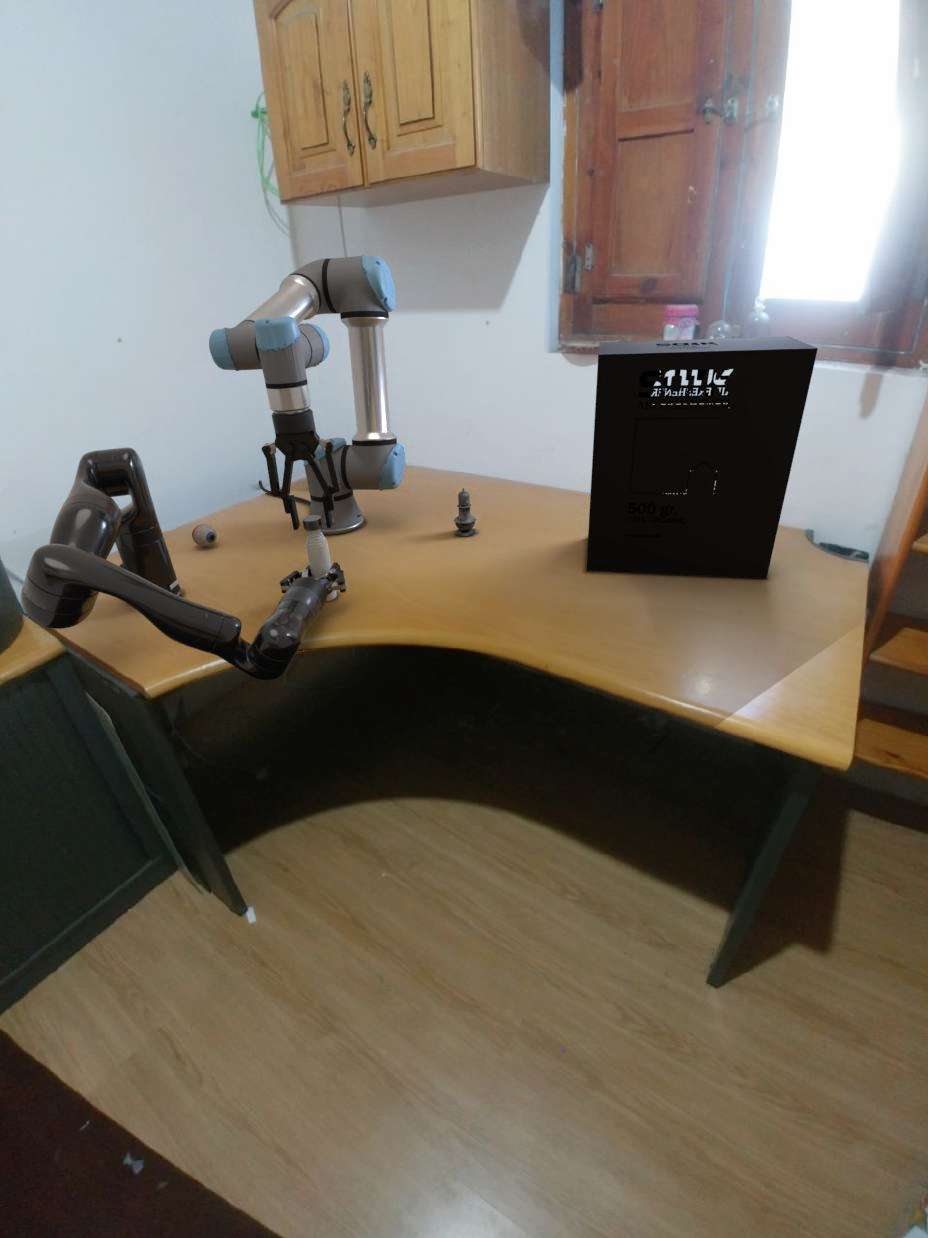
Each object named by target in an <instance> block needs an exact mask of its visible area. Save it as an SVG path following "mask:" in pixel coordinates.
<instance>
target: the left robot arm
mask: <svg viewBox="0 0 928 1238" xmlns="http://www.w3.org/2000/svg"><path fill="white" fill-rule="evenodd" d="M146 475H147V474H146V471H145V469H144V464H143V462H142V460H141V457H140V456H139V453H138V452H137V451H136V450H135V448H132V447H127V446H126V447H115V448H105V449H97V450H92V451H88V452H86V453H84V454H82V456H81V458H80V459H79V462H78V465H77V469H76V473H75V477H74V481H73V484H72V486H71V488H70V490H69V493H68V495H67V498H66V499H65V501H64V503H63V504H62V506H61V508H60V510H59V512H58V513H57V516H56V518H55V521H54V524H53V527H52V530H51V534H50V538H49V542H48V544H44V545H42V546H39V547H38V548H36V550H35V551H34V552H33V554H32V556H31V558H30V561H29V564H28V567H27V571H26V573H25V577H24V580H23V582H22V583H23V584H22V588H21V591H20V603H21V606H22V609H23V611H24V613H25V614H26V615H27V616H28V618H29V619H31V621H33V622H34V623H36V624H38V625H40V626H42V627H45V628H47V629H53V630H55V629H56V630H58V629H61V630H63V629H67V628H68V629H69V628H72V627H75V626H77V625H79V624H81V623H82V622H85V620H86V619H87V618H88V617H89V616H90V615H91V613H92V612H93V610H94V608H95V605H96V602H97V599H98V596H99V594H100V593H102V594H105V595H108V596H111V597H113V598H116V599H118V600H120V601H122V602H123V603H126V604H128V605H129V606H131V608H133V609H135V610H136V611H137V612H139V614H141V615H142V616H143V617H144V618H145V619H147V621H148V622H150V623H151V624H152V625H153V626H154V627H155V628H156V629H157V630H158V631H159V632H160V633H161V634H163V635H164V636H165V637H167V638H168V639H169V640H172V641H174V642H175V643H177V644H180V645H181V646H185V647H186V648H187V647H188V648H191V649H194V650H197V651H200V652H204V653H207V654H209V655H214V656H217V657H219V658H221V660H223V661H225V662H226V663H228V664H230V665H231V666H233V667H235V668H236V669H238V670H240V671H242V672H243V673H245V674H246V675H248V676H250V677H252V678H254V679H258V680H262V681H272V680H273V681H274V680H276V679H278V678H280V677H281V676H282V675H283V674H284V672H285V671H286V669H287V668H288V665H289V664H290V663H291V661H292V660H293V657H294V656H295V654H296V653H297V651H298V650H299V648H300V646H301V643H302V642H303V639H304V638H305V636H306V635H307V633H308V631H309V629H310V628H311V626H312V625H313V624H314V623H315V621H316V620H317V618H318V616H319V615H320V612H321V611H322V610H323V608H324V606H325V605H326V602H327V601H326V599H327V596H328V595H329V594H331V593H332V591H333V590H336V591H339V593H341V594H343V593H346V592H347V587H346V579H345V572H344V570H343V569H341V565H340V564H339V562H338V561H336V562H333V563H332V564H331V566H332V567H331V568H330V570H329V571H328V572H323V573H322V574H321V575H319V576H316V577H312V574H311V569H310V564H308V565H307V566H306V567H305V568H304V569H302V570H301V571H299V570H294V571H292V572H291V573H290V574H288V575H287V576H285V577H283V579H281V580H280V581H279V585H280V591H281V594H283V595H282V596H281V598H280V599H279V601H278V604H277V606H276V608H275V609H274V610H273V612H272V613H271V615H270V616H269V617H268V618H267V619H266V620H265V621H264V622H263V623H262V625H261V626H260V628H259V629H258V631H257V633H256V635H255V636H254V638H253V640H252V642H251V643H250V642H249V641H247V640H245V639H244V638H243V637H242V636H241V633H242V628H243V626H242V621H241V619H240V618H238V617H237V616H235V615H232V614H230V613H227V612H224V611H221V610H217V609H215V608H212V607H209V606H207V605H203V604H200V603H197V602H195V601H193V600H189V599H186V598H185V597H183V596H182V595H183V592H182V591H183V590H182V588H181V587H180V582H181V581H180V577H178V578H177V574H176V571H175V567H174V565H173V561H172V559H171V555H170V552H169V549H168V546H167V543H166V540H165V537H164V533H163V531H162V528H161V525H160V521H159V519H158V515H157V512H156V508H155V505H154V501H153V499H152V495H151V491H150V487H149V484H148V480H147V476H146ZM123 496H130V498H131V502H129V503H127V505H125V506H124V507H121V508H120V507H119V504H118V503H117V502H116V501H115V500H114V499H113V498H115V497H123ZM114 545H115V546H116V548H117V551H118V554H119V557H120V560H121V563H120V564H119V565H117V564H116V563H113V562H111V561H110V560H107V559H108V557H109V555H110V553H111V551H112V549H113V547H114ZM333 583H334V584H333Z"/></svg>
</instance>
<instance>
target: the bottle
mask: <svg viewBox="0 0 928 1238" xmlns="http://www.w3.org/2000/svg"><path fill="white" fill-rule="evenodd" d="M325 536H326V535H324V534H322V532H321V530H320V529H319V530H314V531H307V535H306V541H305V548H306V553H307V558H308V563H309V564H308V565H310V569H311V574H312V577H316V576H319V575H321V574H322V573H323V572H328V571H329V570H330V568H331V567H332V561H331V555H330V554H331V553H330V549H329V544H328V543H329V542H328V540H327V538H326V537H325ZM333 584H334V583H333ZM337 596H338V593H337V590H333V591H332V593H331V594H329V595H328V596H327V599H326V602H330V601H332V600H334V599H336V598H337Z"/></svg>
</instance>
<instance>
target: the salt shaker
mask: <svg viewBox="0 0 928 1238" xmlns="http://www.w3.org/2000/svg"><path fill="white" fill-rule="evenodd" d="M461 490H462V491H460V492H458V494H457V500H458V504H457V505H456V507H457V508H458V516H456V517H454V519H453V522H454V524H455V526H456V528H458V529H457V530H456V531H455V534H456V535H457V536H460V537H469V536H473V535H475V534H476V529H474V527H475V524H476V521H477V517H475V516H473V515H472V513H471V507H472V504H471V502H470V501H471V500H470V493H469V492H468V491H466V490H465V488H464V487H463V488H462V489H461Z"/></svg>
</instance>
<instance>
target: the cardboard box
mask: <svg viewBox="0 0 928 1238" xmlns="http://www.w3.org/2000/svg"><path fill="white" fill-rule="evenodd" d="M818 349H819V348H818V347H817V346H816V347H815V346H813V345H811V344H808V343H806V342H804V341H801V340H799V339H798V338H797V339H796V338H794V337H792V336H788V335H785V336H783V335H782V336H757V337H756V336H755V337H753V336H752V337H727V338H726V337H725V338H724V337H723V338H695V339H694V338H693V339H667V340H663V339H662V340H638V341H637V340H635V341H634V340H633V341H610V342H609V341H605V342H604V341H603V342H599V347H598V353H597V372H596V374H597V375H596V390H595V404H594V407H595V408H594V422H593V423H594V426H593V443H592V461H591V463H592V464H591V479H590V495H589V497H590V499H589V516H588V534H587V553H586V570H585V571H586V572H596V573H597V572H600V573H602V572H603V573H620V574H621V573H623V574H645V575H646V574H647V575H670V576H691V577H714V578H715V577H717V578H718V577H719V578H739V579H741V578H743V579H761V580H762V579H765V580H767V578H768V575H769V569H770V564H771V560H772V557H773V551H774V547H775V542H776V538H777V534H778V529H779V524H780V520H781V515H782V511H783V506H784V503H785V498H786V493H787V489H788V484H789V479H790V475H791V471H792V467H793V462H794V457H795V453H796V448H797V443H798V439H799V436H800V430H801V426H802V421H803V417H804V413H805V408H806V403H807V400H808V394H809V390H810V385H811V381H812V377H813V372H814V367H815V363H816V358H817V354H818V351H819V350H818ZM729 370H732V371H731V372H730V373H729V375H723V374H724V373H725V371H729ZM670 371H674V375H672V376H671V377H670V385H668V384H669V376H668V375H667V373H668V372H670ZM681 371H686V372H685V381H687V384H682V381H683V375H681ZM693 371H697V372H696V375H693ZM710 371H712V375H711V380H710V382H709V375H710ZM695 379H696V381H700V384H695ZM719 380H720V381H724V382H723V383H724V384H717V383H715V381H719ZM657 382H658V383H659V384H660V385H655V384H656V383H657ZM708 382H709V383H708Z"/></svg>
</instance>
